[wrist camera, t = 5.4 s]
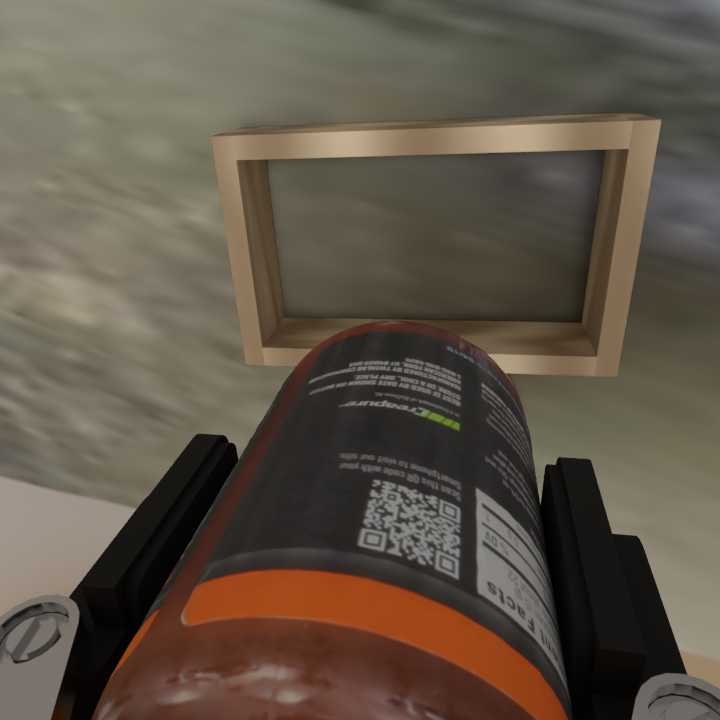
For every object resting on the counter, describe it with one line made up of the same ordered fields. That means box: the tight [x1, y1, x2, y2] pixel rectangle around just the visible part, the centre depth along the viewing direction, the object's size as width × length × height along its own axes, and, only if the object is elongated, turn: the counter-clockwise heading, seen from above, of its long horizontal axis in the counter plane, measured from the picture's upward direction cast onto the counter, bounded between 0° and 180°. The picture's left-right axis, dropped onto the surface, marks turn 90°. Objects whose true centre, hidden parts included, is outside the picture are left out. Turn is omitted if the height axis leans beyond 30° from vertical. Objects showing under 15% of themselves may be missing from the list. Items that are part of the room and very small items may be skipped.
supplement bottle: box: [91, 321, 573, 720], centre depth 9 cm, size 6×6×11 cm
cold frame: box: [211, 112, 661, 377], centre depth 27 cm, size 18×11×4 cm, turn 93°
